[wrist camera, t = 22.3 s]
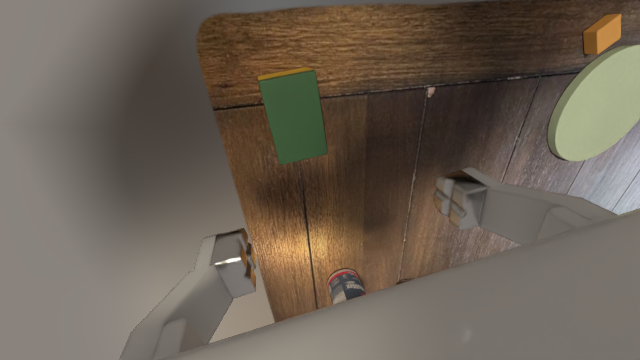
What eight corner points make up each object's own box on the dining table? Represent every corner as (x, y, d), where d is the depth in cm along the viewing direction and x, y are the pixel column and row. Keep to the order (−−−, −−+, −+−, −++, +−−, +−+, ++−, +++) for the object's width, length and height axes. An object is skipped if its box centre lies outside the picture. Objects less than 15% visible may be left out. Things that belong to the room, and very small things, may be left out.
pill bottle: (363, 273, 42) (387, 323, 34) (344, 293, 44) (363, 346, 36) (339, 264, 40) (359, 316, 32) (320, 285, 41) (335, 340, 34)
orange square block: (582, 32, 30) (597, 31, 29) (605, 14, 30) (621, 13, 28) (583, 54, 32) (597, 54, 30) (606, 38, 31) (621, 37, 30)
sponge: (257, 76, 25) (258, 81, 21) (307, 66, 25) (315, 70, 22) (277, 150, 29) (280, 165, 25) (319, 140, 29) (328, 153, 26)
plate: (569, 57, 31) (580, 57, 30) (672, 34, 33) (685, 34, 32) (534, 168, 39) (541, 172, 38) (618, 145, 41) (627, 148, 40)
